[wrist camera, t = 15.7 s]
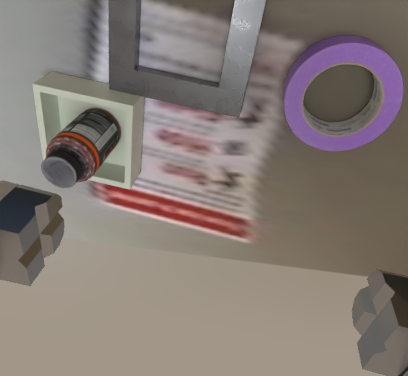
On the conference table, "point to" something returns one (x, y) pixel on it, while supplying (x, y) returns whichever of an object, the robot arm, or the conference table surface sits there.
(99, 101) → the tray
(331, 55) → the masking tape
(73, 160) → the supplement bottle
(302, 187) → the conference table surface
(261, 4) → the socket frame
